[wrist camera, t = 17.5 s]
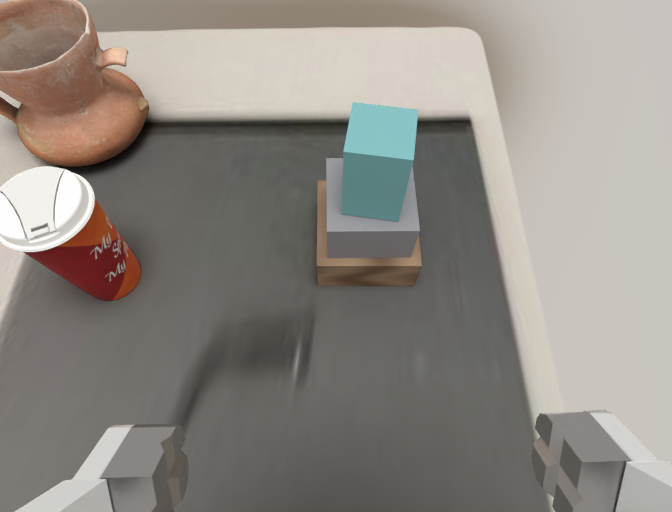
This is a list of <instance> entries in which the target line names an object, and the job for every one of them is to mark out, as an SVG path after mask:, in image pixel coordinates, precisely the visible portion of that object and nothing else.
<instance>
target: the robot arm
mask: <svg viewBox="0 0 672 512" xmlns="http://www.w3.org/2000/svg"><path fill="white" fill-rule="evenodd" d="M535 429H536V430H537V432H538V433H539V435H540V436H541V437H540V438H539V439H538V440H537V441H536V442H535V443H534V444H533V449H532V463H533V470H534V473H535V475H536V478H537V480H538V482H539V484H540V486H541V487H542V489H543V490H544V491H546V492H547V493H549V494H550V495H552V496H553V497H554V500H553V508H554V510H555V511H556V512H672V463H670V462H668V461H658V460H657V459H656V458H655V457H654V456H653V455H652V454H651V453H650V451H648V449H647V448H646V447H645V446H644V445H643V444H642V443H641V442H640V441H639V440H638V439H637V438H636V437H635V436H634V435H633V434H632V433H631V432H630V431H629V430H628V429H627V428H626V427H625V426H624V425H623V424H622V423H621V422H620V421H619V420H618V419H617V418H616V417H615V416H614V415H613V414H612V413H611V412H609V411H606V410H597V411H583V412H568V413H540V414H539V416H538V418H537V421H536V427H535ZM184 440H185V438H184V433H183V427H182V426H181V425H180V424H136V425H113V426H111V427H109V428H108V429H107V430H106V432H105V433H104V435H103V436H102V438H101V439H100V440H99V442H98V443H97V445H96V446H95V448H94V449H93V450H92V452H91V453H90V455H89V456H88V458H87V459H86V460H85V462H84V463H83V465H82V466H81V468H80V469H79V470H78V472H77V473H76V475H75V476H74V478H73V479H72V480H64V481H63V482H61V483H60V484H58V485H56V486H55V487H53V488H52V489H50V490H48V491H47V492H45V493H44V494H42V495H41V496H39V497H37V498H36V499H34V500H33V501H31V502H29V503H28V504H26V505H25V506H23V507H21V508H20V509H18V510H17V511H15V512H174V508H175V507H176V506H177V505H178V504H180V503H181V502H182V500H183V497H184V494H185V491H186V486H187V480H188V459H187V455H186V454H185V453H184V452H183V451H182V450H181V447H182V445H183V442H184Z"/></svg>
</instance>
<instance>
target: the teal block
mask: <svg viewBox="0 0 672 512" xmlns="http://www.w3.org/2000/svg"><path fill="white" fill-rule="evenodd" d="M417 116H418V110H416V109H407V108H398V107H390V106H381V105H372V104H364V103H355V102H353V104H352V110H351V115H350V120H349V126H348V131H347V136H346V141H345V147H344V153H343V184H342V214H343V215H351V216H359V217H366V218H374V219H381V220H389V221H397V222H399V218H400V214H401V210H402V206H403V202H404V198H405V194H406V189H407V185H408V181H409V177H410V173H411V169H412V165H413V160H414V150H415V139H416V128H417Z"/></svg>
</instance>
